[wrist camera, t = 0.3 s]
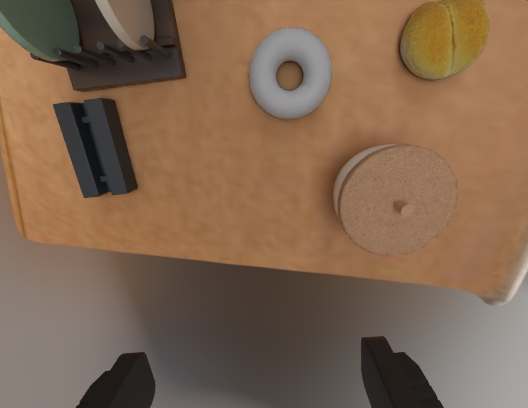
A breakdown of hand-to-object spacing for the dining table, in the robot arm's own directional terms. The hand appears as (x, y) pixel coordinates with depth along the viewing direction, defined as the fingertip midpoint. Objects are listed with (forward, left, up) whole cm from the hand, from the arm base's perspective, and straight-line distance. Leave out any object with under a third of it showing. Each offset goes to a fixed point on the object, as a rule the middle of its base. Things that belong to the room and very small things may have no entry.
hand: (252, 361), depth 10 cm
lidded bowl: (+2, +14, -29) cm, 32 cm away
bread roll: (-15, +22, -29) cm, 40 cm away
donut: (-13, +4, -29) cm, 32 cm away
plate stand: (-7, -22, -29) cm, 37 cm away
